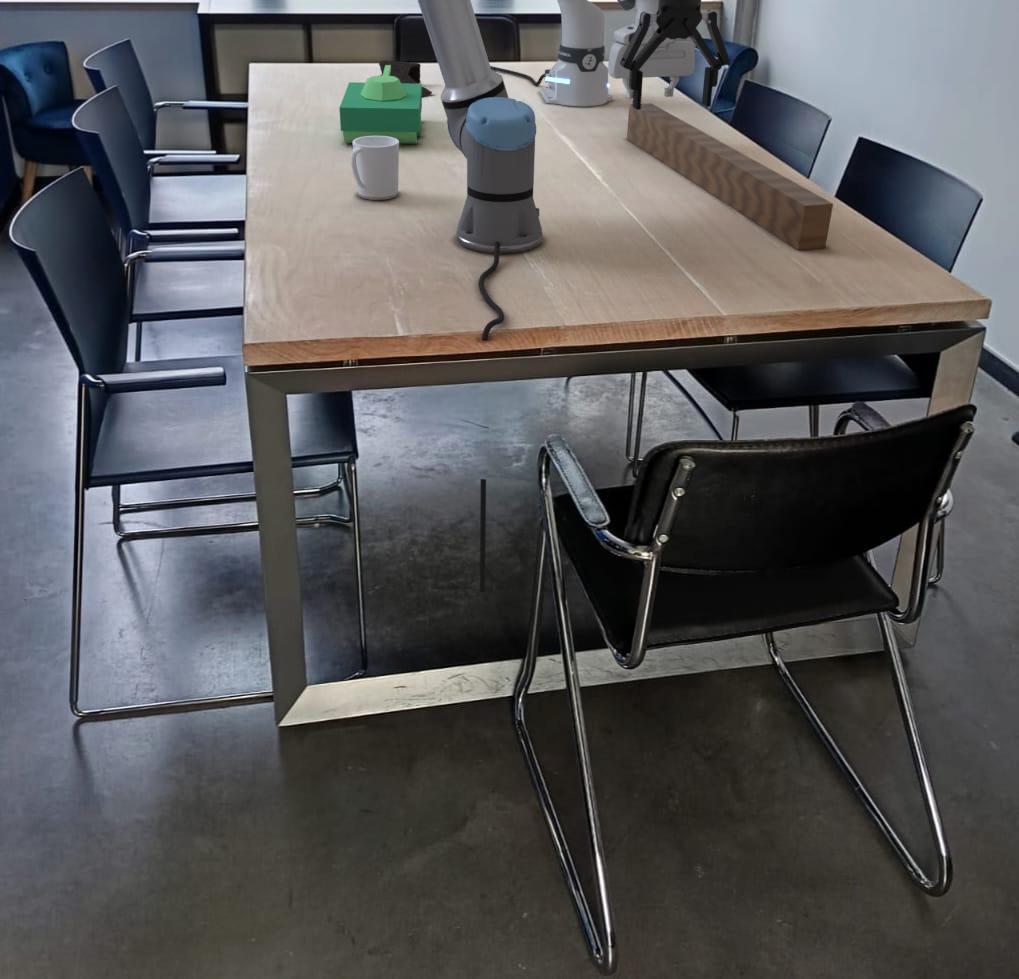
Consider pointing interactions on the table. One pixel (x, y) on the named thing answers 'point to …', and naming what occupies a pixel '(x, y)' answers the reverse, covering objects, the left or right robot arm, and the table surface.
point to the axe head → (405, 72)
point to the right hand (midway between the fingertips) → (649, 97)
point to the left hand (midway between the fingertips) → (671, 106)
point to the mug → (376, 166)
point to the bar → (733, 177)
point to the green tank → (382, 109)
